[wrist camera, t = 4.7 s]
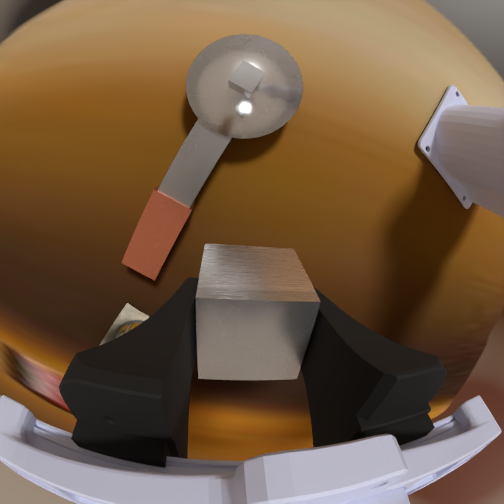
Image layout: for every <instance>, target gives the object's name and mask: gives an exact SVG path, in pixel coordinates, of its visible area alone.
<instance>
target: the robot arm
mask: <svg viewBox="0 0 504 504" xmlns="http://www.w3.org/2000/svg"><path fill="white" fill-rule="evenodd" d="M426 146H427V151H426ZM418 147H419V149H420V150H421V151H422V153H423V154H424V155H425V156H426V157H427V158H428V160H429V161H430V162H431V163H432V164H433V166H434V167H435V168H436V169H437V171H438V172H439V173H440V175H441V176H442V177H443V178H444V180H445V181H446V182H447V184H448V185H449V187H450V188H451V189H452V191H453V192H454V193H455V195H456V196H457V198H458V199H459V201H460V202H461V204H462V205H463V207H464V208H466V209H468V208H469V207H470V206H471V204H472V202H473V203H475V204H477V205H479V206H481V207H483V208H486V209H488V210H490V211H492V212H494V213H496V214H497V215H499V216H501V217H503V218H504V108H501V107H491V106H478V105H468V103H467V102H466V100H465V99H464V98H463V96H462V95H461V93H460V92H459V91H458V89H457V88H456V87H455V86H454V85H449V87H448V89H447V91H446V93H445V94H444V96H443V98H442V100H441V102H440V104H439V106H438V107H437V109H436V111H435V113H434V115H433V116H432V118H431V120H430V122H429V124H428V125H427V127H426V129H425V130H424V132H423V134H422V136H421V137H420V139H419V141H418ZM198 281H199V278H187V279H186V280H185V281H184V283H183V284H182V285H181V286H180V288H179V289H178V290H177V291H176V292H175V293H174V294H173V295H172V297H171V298H170V299H169V300H168V301H167V302H166V303H165V304H164V305H163V306H162V307H160V308H159V309H158V310H157V311H156V312H155V313H154V314H153V315H152V316H150V317H149V318H148V319H147V320H145V321H144V322H143V323H141V324H140V325H138V326H137V327H135V328H133V329H132V330H130V331H128V332H127V333H125V334H123V335H121V336H119V337H117V338H115V339H113V340H111V341H109V342H107V343H104V344H102V345H100V346H97V347H94V348H91V349H88V350H85V351H82V352H79V353H76V355H75V356H74V358H73V360H72V361H71V363H70V365H69V367H68V369H67V371H66V373H65V375H64V377H63V379H62V381H61V383H60V386H59V389H60V393H61V396H62V398H63V400H64V401H65V403H66V404H67V406H68V407H69V409H70V410H71V412H72V413H73V415H74V416H75V418H76V419H77V422H76V425H75V428H74V431H73V434H72V433H69V432H67V431H64V430H61V429H59V428H56V427H54V426H51V425H49V424H46V423H44V422H42V421H39V420H37V419H36V417H35V416H34V414H33V413H32V412H31V411H30V410H29V409H28V408H27V407H26V406H24V405H23V404H21V403H19V402H17V401H15V400H13V399H11V398H9V397H7V396H5V395H2V397H1V399H0V461H1V462H3V463H4V464H5V465H7V466H8V467H9V468H11V469H12V470H13V471H15V472H16V473H18V474H19V475H21V476H23V477H24V478H26V479H28V480H30V481H31V482H33V483H35V484H37V485H39V486H41V487H43V488H44V489H46V490H48V491H50V492H52V493H54V494H57V495H59V496H61V497H63V498H65V499H67V500H70V501H72V502H75V503H77V504H410V502H409V499H408V496H407V495H409V494H411V493H413V492H415V491H417V490H419V489H421V488H423V487H425V486H427V485H429V484H430V483H432V482H434V481H436V480H438V479H439V478H441V477H443V476H445V475H446V474H448V473H450V472H451V471H453V470H455V469H456V468H458V467H459V466H461V465H462V464H464V463H466V462H467V461H468V460H470V459H471V458H472V457H474V456H475V455H476V454H477V453H479V452H480V451H481V450H482V449H483V448H484V447H486V446H487V445H488V444H489V443H490V442H491V441H493V440H494V439H495V438H496V437H497V436H498V435H499V434H500V433H501V429H500V428H499V426H498V424H497V423H496V421H495V419H494V418H493V416H492V414H491V413H490V411H489V409H488V408H487V406H486V405H485V403H484V402H483V400H482V398H481V397H480V396H476V397H474V398H472V399H470V400H468V401H466V402H465V403H463V404H462V405H461V406H460V407H459V408H458V409H457V410H456V411H455V412H454V414H453V415H451V416H449V417H447V418H444V419H442V420H440V421H438V422H435V423H432V421H431V419H430V417H429V415H428V413H429V412H430V411H431V408H430V406H429V404H428V402H429V401H430V400H431V399H432V397H433V396H434V395H435V394H436V393H437V391H438V390H439V389H440V387H441V386H442V384H443V383H444V381H445V378H446V373H447V371H446V369H445V368H444V366H443V365H442V363H441V362H440V360H439V359H438V357H437V356H435V355H431V354H428V353H424V352H420V351H417V350H414V349H411V348H408V347H405V346H403V345H400V344H398V343H395V342H393V341H391V340H389V339H387V338H385V337H383V336H381V335H379V334H377V333H375V332H373V331H372V330H370V329H368V328H367V327H365V326H363V325H362V324H360V323H359V322H357V321H356V320H354V319H353V318H352V317H350V316H349V315H347V314H346V313H345V312H344V311H342V310H341V309H340V308H338V307H337V306H336V305H335V304H334V303H332V302H331V301H330V300H329V299H328V298H326V297H325V296H324V295H323V294H322V293H321V292H319V291H318V290H317V289H316V288H314V289H315V291H316V293H317V295H318V297H319V299H320V301H321V302H320V306H319V309H318V313H317V316H316V320H315V323H314V327H313V330H312V333H311V337H310V340H309V343H308V346H307V349H306V352H305V355H304V359H303V362H302V365H301V371H302V374H303V377H304V381H305V385H306V390H307V396H308V402H309V409H310V416H311V424H312V434H313V446H314V447H313V448H306V449H297V450H286V451H280V452H274V453H267V454H262V455H259V456H256V457H253V458H249V459H247V460H246V461H212V460H196V459H187V445H188V418H189V401H190V388H191V379H192V374H193V369H194V364H195V359H196V354H197V335H196V293H197V287H198Z"/></svg>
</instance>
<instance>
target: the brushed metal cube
mask: <svg viewBox="0 0 504 504" xmlns="http://www.w3.org/2000/svg"><path fill="white" fill-rule="evenodd" d="M320 302H321V301H320V299H319V297H318V295H317V293H316V291H315V289H314V287H313V285H312V283H311V282H310V280H309V278H308V276H307V274H306V272H305V270H304V268H303V266H302V264H301V262H300V260H299V258H298V257H297V255H296V253H295V251H294V249H286V248H269V247H253V246H236V245H218V244H205V248H204V253H203V258H202V264H201V269H200V275H199V281H198V287H197V293H196V335H197V360H198V379H216V380H284V379H297V376H298V373H299V371H300V368H301V365H302V362H303V359H304V355H305V352H306V349H307V346H308V343H309V340H310V337H311V333H312V330H313V327H314V323H315V320H316V316H317V313H318V309H319V306H320Z"/></svg>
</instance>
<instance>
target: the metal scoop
mask: <svg viewBox="0 0 504 504" xmlns="http://www.w3.org/2000/svg"><path fill="white" fill-rule="evenodd" d="M186 92H187V98H188V101H189V104H190V106H191V108H192V110H193V112H194V113H195V115H196V116H197V117H198V120H197V122H196V123H195V125H194V126H193V128H192V130H191V131H190V133H189V135H188V136H187V138H186V140H185V141H184V143H183V145H182V146H181V148H180V150H179V152H178V153H177V155H176V157H175V159H174V161H173V162H172V164H171V166H170V168H169V170H168V172H167V173H166V175H165V177H164V179H163V181H162V183H161V185H160V186H158V187H157V188H156V189H154V191H153V193H152V195H151V197H150V199H149V201H148V203H147V205H146V207H145V210H144V212H143V214H142V216H141V218H140V220H139V223H138V225H137V227H136V229H135V232H134V234H133V236H132V239H131V241H130V243H129V246H128V248H127V250H126V253H125V255H124V258H123V260H122V263H123V264H125V265H126V266H128V267H130V268H132V269H134V270H136V271H137V272H139V273H141V274H143V275H145V276H147V277H149V278H151V279H152V280H154V281H155V279H156V277H157V275H158V273H159V271H160V269H161V267H162V265H163V263H164V261H165V259H166V257H167V256H168V254H169V252H170V250H171V248H172V246H173V244H174V242H175V240H176V238H177V237H178V235H179V233H180V231H181V229H182V227H183V226H184V224H185V222H186V220H187V218H188V216H189V215H190V213H191V211H192V209H193V207H194V205H195V202H194V199H195V198H196V196H197V194H198V193H199V191H200V189H201V187H202V186H203V184H204V182H205V181H206V179H207V177H208V176H209V174H210V172H211V171H212V169H213V167H214V166H215V164H216V162H217V161H218V159H219V158H220V156H221V154H222V153H223V151H224V150H225V148H226V146H227V145H228V143H229V142H230V140H231V139H232V137H233V138H242V139H245V138H256V137H261V136H264V135H267V134H270V133H272V132H274V131H276V130H277V129H279V128H280V127H282V126H283V125H285V124H286V123H287V122H288V121H289V120H290V119H291V117H292V116H293V115H294V113H295V112H296V110H297V108H298V106H299V104H300V101H301V98H302V92H303V81H302V75H301V72H300V69H299V67H298V65H297V63H296V61H295V60H294V58H293V57H292V56H291V55H290V53H289V52H288V51H287V50H285V49H284V48H283V47H282V46H280V45H279V44H277V43H276V42H274V41H272V40H270V39H267V38H264V37H261V36H257V35H249V34H240V35H232V36H228V37H225V38H222V39H219V40H217V41H215V42H213V43H211V44H210V45H209V46H207V47H206V48H205V49H204V50H202V51H201V52H200V53H199V55H198V56H197V57H196V58H195V60H194V61H193V63H192V65H191V67H190V69H189V72H188V75H187V81H186Z"/></svg>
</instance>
